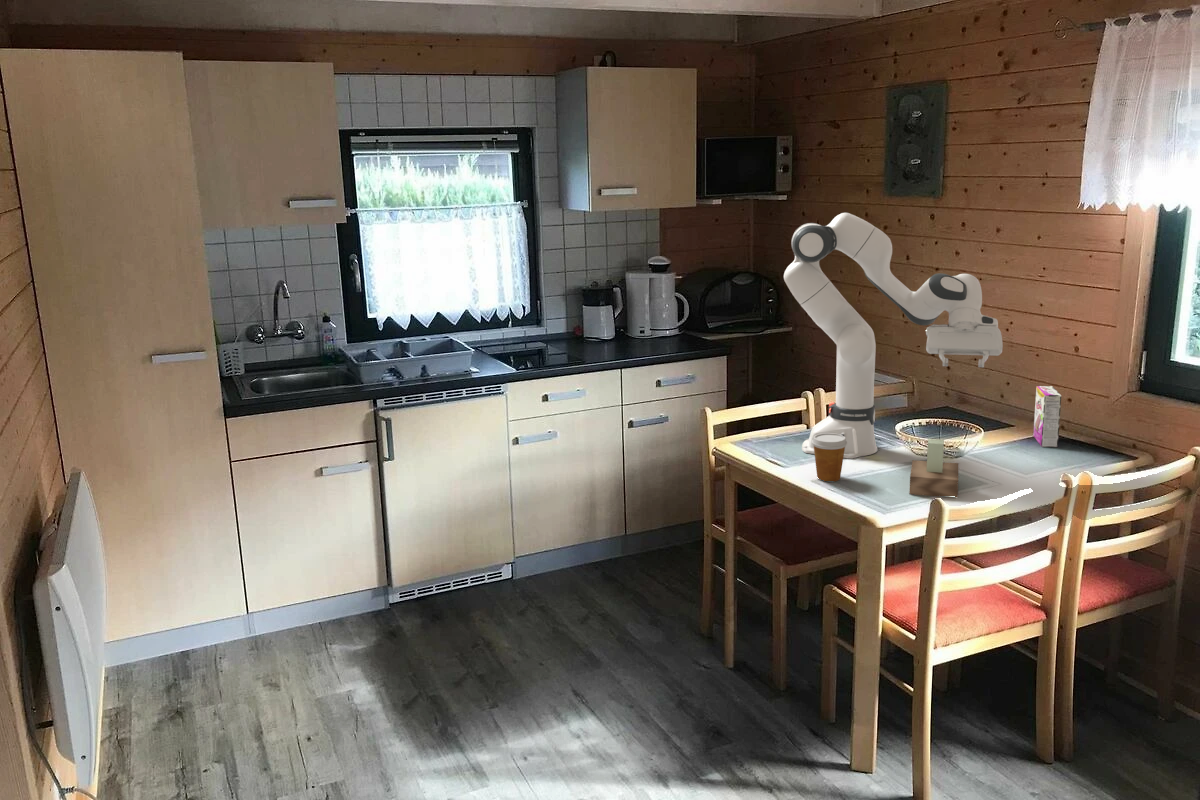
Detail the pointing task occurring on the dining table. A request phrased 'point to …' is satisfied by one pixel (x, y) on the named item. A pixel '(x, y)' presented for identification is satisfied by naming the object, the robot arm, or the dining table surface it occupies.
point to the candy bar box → (1047, 416)
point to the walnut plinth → (934, 480)
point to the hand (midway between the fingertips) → (963, 365)
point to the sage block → (935, 455)
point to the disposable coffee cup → (829, 455)
